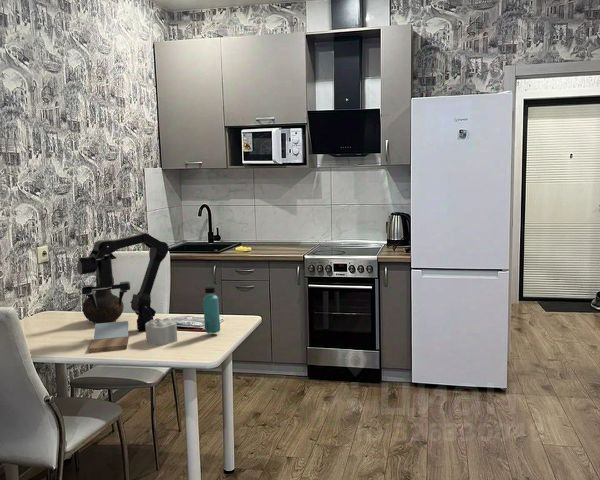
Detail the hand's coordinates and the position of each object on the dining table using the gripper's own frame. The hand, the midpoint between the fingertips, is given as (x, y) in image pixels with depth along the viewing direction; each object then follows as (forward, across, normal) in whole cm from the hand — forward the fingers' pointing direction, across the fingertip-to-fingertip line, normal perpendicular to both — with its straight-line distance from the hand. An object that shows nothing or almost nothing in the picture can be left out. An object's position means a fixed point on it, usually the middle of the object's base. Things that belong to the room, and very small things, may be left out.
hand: (108, 308), depth 240 cm
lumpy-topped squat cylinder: (+13, -20, +13) cm, 27 cm away
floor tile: (+10, -1, +2) cm, 10 cm away
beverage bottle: (+13, -41, +12) cm, 45 cm away
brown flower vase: (+13, +5, -29) cm, 32 cm away
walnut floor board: (+12, 0, +14) cm, 19 cm away
